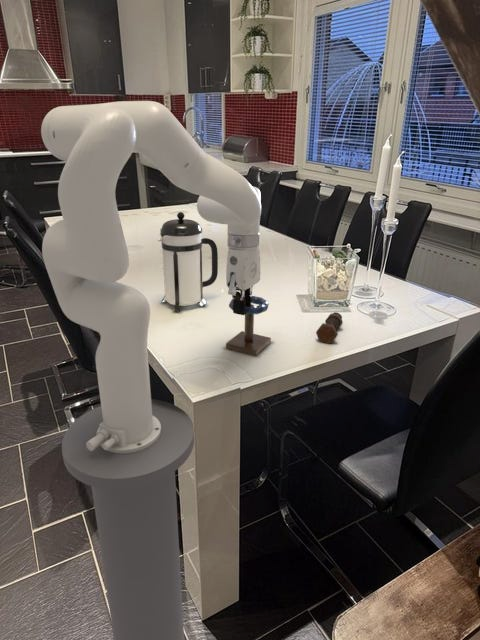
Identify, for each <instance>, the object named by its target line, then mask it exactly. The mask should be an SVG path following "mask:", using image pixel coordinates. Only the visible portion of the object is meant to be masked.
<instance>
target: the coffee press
mask: <svg viewBox="0 0 480 640" xmlns="http://www.w3.org/2000/svg"><path fill="white" fill-rule="evenodd" d="M185 216H186V215H185V214H184V212H182V211H179V212H178V213H177V214H176V217H177V218H176V219H169V220H167V221H165V222H164V223H163V224H162V226H161V228H160V229H159V230H160V231H159V232H160V233H159V235H158V237H157V241H158V242H161V249H162V262H163V282H164V283H163V284H164V296H163V298H162V299H161V302H162V303H163V304H166V303H169V304H171V305H173V306H174V313H181V312H180V311H181V309H182V307H186V306H193V305H196V304H198V305H199V306H201V307H202V308H205V307H206V306H207V301H206V300H205V299H204V296H203V295H204V294H203V293H204V291H203V288H205V287H209V286H211V285H213V284H214V283H215V282H216V280H217V278H218V274H219V272H218V271H219V256H218V254H219V253H218V245H217V244H216V242H215V241H214V240H213V239H211V238H208V237H204V238H202V233H203V228H202V227H201V225H200V223H199V222H198V221H196V220H193V219H187V218H185ZM203 245H208V246H209V248H210V250H211V275H210V278H209V279H207V280H204V281H203V250H202V249H203ZM165 300H166V301H165ZM201 301H202V302H201Z"/></svg>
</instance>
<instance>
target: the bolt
mask: <svg viewBox="0 0 480 640" xmlns="http://www.w3.org/2000/svg"><path fill="white" fill-rule="evenodd" d="M343 323H344V321H343V316H342V314H341V313H339V312H336V311H335V312H332V313H330V314H329V315H328V316H327V318H326V319H325V321H324V322H322V324H321V325H320V326H319V327H318V329H317V330H316V332H315V334H316V337H317V339H318V340H319V342H321V343H324V344H332V343H333V342H334V340H335V339H336V338H337V337H338V335H339V334H338V332H337V331H338V329H339V328H340V327H341V326H342V325H343Z"/></svg>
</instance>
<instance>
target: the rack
mask: <svg viewBox="0 0 480 640" xmlns="http://www.w3.org/2000/svg"><path fill="white" fill-rule="evenodd" d="M251 307H255V304H253V303H251ZM254 327H255V314H253V315H244V331H243V330H241V331H240V332H238V333H237V334H236V335H235V336H233V337H232V338H231V339H229V340H228V341H226V343H225V348H226V349H228V350H232V351H235V352H240V353H243V354H248V355H251V356H255V357H257V356H258V355H259V354H260V353H262V351H263V350H264V349H265V348H266V347H268V346H269V345H270V344H271V343H272V338H271V337H269V336H265V335H262V334H256V333H254V330H255V329H254Z"/></svg>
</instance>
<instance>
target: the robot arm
mask: <svg viewBox="0 0 480 640" xmlns="http://www.w3.org/2000/svg"><path fill="white" fill-rule="evenodd" d="M40 127H41V128H40V135H41V139H42V142H43V145H44V146H45V148H46V149H47V150H48V152H49V154H52V156H53V157H55V158H57V159H58V160H61V161H63V162H65V164H64V166H63V169H62V171H61V174H60V177H59V181H58V186H57V198H58V205H59V208H60V212H61V215H62V220H61V219H60V220H58V221H56V222H53V224H51V225H50V226H49V228H47V230H46V232H45V234H44V235H43V239H42V244H41V245H42V246H41V253H42V259H43V262H44V266H45V269H46V271H47V274H48V278H49V280H50V283H51V286H52V289H53V291H54V294H55V297H56V300H57V303H58V305H59V307H60V309H61V311H62V313H63V314H64V316H66V318H67V319H69V320H70V321H71V322H73V323H75V324H78V325H80V326H82V327H84V328H88V329H90V330H92V331H95V332H96V333H98V334H99V336H100V338H99V339H100V340H99V343H98V345H97V348H96V350H95V358H94V359H95V370H96V375H97V383H98V391H99V399H100V406H101V408H102V416H103V422H102V423H100V424H99V426H100V427H99V428H98V430H97V436H95V437H93V438H92V439H90V440H89V441H88V442H86V446H87V448H88V449H89V450H90V451H93V450H94V449H95V448H97V447H98V446H99V445H100V446H101V447H102V448H103V449H104V450H107V451H109V452H113V453H120V454H126V453H133V452H138V451H141V450H143V449H146V448H148V447H149V446H151V445H152V444H154V443H155V442H156V441H157V440H158V438H159V437H160V434H161V424H160V422H159V420H158V419H157V418H156V417H154V416H153V415H152V404H151V399H152V392H151V380H150V379H151V378H150V367H149V354H148V353H149V352H148V336H149V335H148V334H149V326H150V320H151V307H150V303H149V300H148V298H147V297H146V296H145V295H144V294H143V292H142V291H140V290H139V289H137V288H135V287H133V286H131V285H128V284H125V283H121V282H118V281H120V280H121V279H123V278H124V277H125V276H126V274H127V272H128V270H129V267H130V257H129V251H128V247H127V242H126V238H125V234H124V230H123V227H122V222H121V218H120V214H119V209H118V204H117V199H116V189H117V183H118V180H119V177H120V174H121V173H122V170H123V168H124V167H125V165H126V164H127V162H128V160H129V159H130V158H131V156H132V154H133V153H135V154H136V153H137V154H141V155H142V156H144V157H145V158H146V159H147V160H148V162H150V163H151V164H152V165H153V166H154V167H155V168H156V169H157V170H158V171H159V172H161V173H162V174H163V176H165V177H166V179H168V181H169V182H170V183H171V184H173V185H174V186H175V187H177V188H179V189H181V190H184V191H186V192H188V193H190V194H193V195H197V196H199V197H198V198H197V201H196V211H197V213H198V214H199V217H201V218H202V219H203V220H204V221H207V222H208V223H213V224H218V225H219V224H220V225H226V226H227V247H228V250H227V257H226V269H225V270H226V271H225V273H226V274H225V280H226V287H227V288H228V290H227V291H228V292H227V294H228V296H231V298H232V299H233V310H232V313H233V314H235V315H240V316H245V307H251V304H252V303H251V296H253V288H254V286H255V285H257V284H258V283H259V282H260V280H261V252H260V225H261V224H260V223H261V222H260V221H261V215H262V203H261V191H260V189H259V188H258V187H256V186H254V185H253V186H252V184H251V183H250V182H249V181H248V180H247V178H246V177H245V176H244V175H242V174H240V173H239V172H238V171H237V170H236V169H233V168H232V167H231V166H229V165H228V164H226V163H224V162H222V161H220V160H219V159H217V158H216V157H214V156H212V155H211V154H208V153H207V152H205V150H203V149H202V147H201V146H200V145H199V144H198V142H196V140H195V139H194V138H193V137H192V135H191V134H190V133H189V132H188V130H187V129H186V128H185V127H184V126H183V125H182V123H181V122H180V121H179V120H178V119H177V118H176V116H175V115H174V114H173V113H172V112H171V110H170V109H169V108H168V107H167V106H166V105H164V104H162V103H160V102H157V101H152V100H122V101H119V100H118V101H111V102H104V103H102V102H101V103H92V104H76V105H75V104H74V105H61V106H57V107H54V108H52V109H51V110H49V112H47V113H46V115H45V116H44V118H43V119H42V122H41V126H40ZM232 299H231V300H232Z"/></svg>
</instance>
